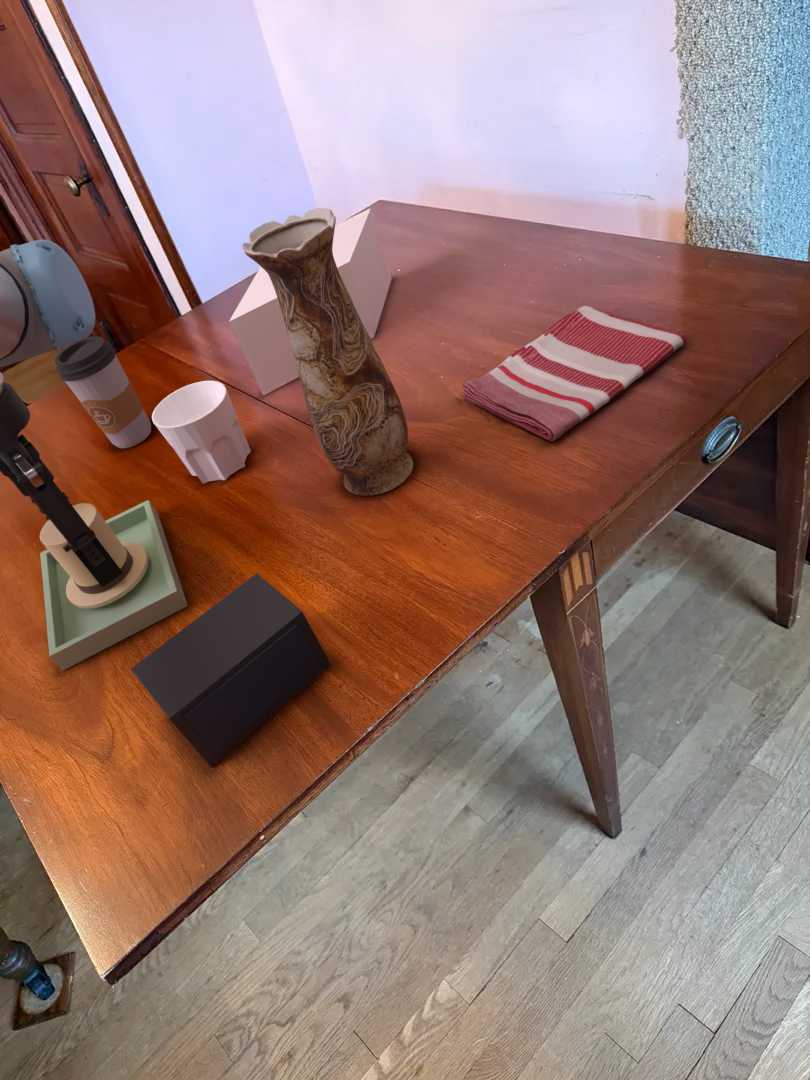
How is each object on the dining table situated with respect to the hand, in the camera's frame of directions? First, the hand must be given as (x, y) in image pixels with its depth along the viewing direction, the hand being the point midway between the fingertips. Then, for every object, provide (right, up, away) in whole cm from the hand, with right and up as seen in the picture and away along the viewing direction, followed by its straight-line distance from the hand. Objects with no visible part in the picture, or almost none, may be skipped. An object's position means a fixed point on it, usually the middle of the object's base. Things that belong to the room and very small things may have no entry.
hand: (99, 564), depth 86 cm
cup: (+10, +13, +15) cm, 23 cm away
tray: (+1, -3, +2) cm, 4 cm away
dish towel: (+57, +24, +8) cm, 62 cm away
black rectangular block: (+21, -12, -15) cm, 28 cm away
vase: (+32, +11, +5) cm, 34 cm away
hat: (+1, -1, +1) cm, 2 cm away
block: (+24, +36, +35) cm, 55 cm away
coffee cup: (-6, +18, +27) cm, 34 cm away
